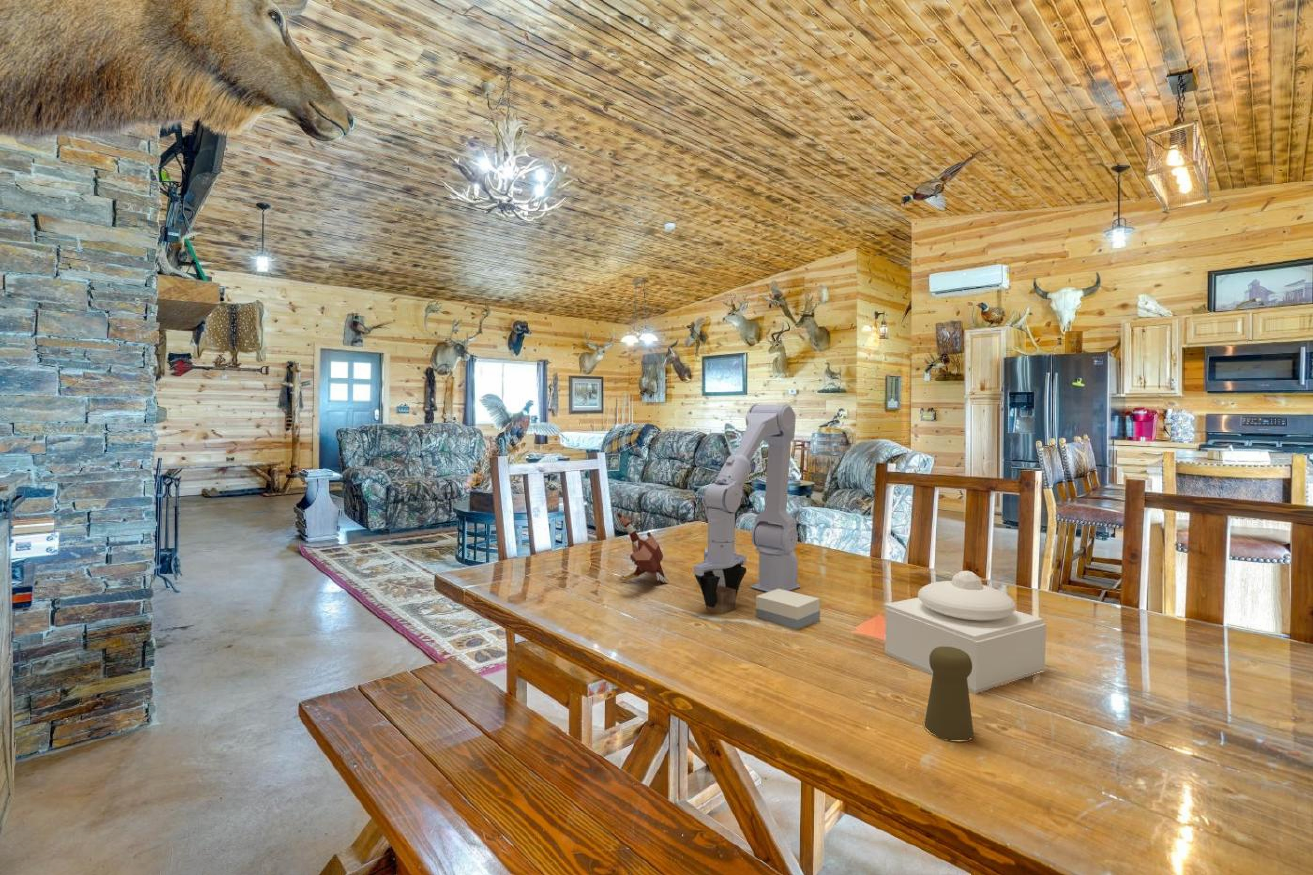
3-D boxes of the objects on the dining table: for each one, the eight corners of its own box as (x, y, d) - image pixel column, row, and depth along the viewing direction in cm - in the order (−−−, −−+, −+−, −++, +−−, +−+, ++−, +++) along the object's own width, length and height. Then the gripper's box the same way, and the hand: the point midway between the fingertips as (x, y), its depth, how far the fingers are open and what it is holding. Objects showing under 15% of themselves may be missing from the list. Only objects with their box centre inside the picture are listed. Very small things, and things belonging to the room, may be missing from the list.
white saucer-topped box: (975, 695, 94) (978, 591, 93) (882, 653, 110) (884, 564, 109) (1045, 672, 102) (1048, 577, 101) (949, 636, 118) (951, 554, 117)
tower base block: (779, 610, 134) (779, 599, 133) (819, 622, 126) (819, 610, 126) (756, 619, 128) (756, 607, 128) (796, 632, 121) (796, 619, 121)
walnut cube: (719, 605, 136) (720, 584, 136) (735, 610, 133) (735, 589, 132) (705, 609, 133) (705, 588, 133) (721, 614, 130) (721, 593, 129)
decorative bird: (607, 552, 169) (628, 503, 168) (668, 581, 167) (690, 531, 166) (580, 581, 141) (605, 522, 140) (653, 616, 139) (679, 556, 138)
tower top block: (778, 600, 133) (778, 588, 133) (819, 610, 126) (819, 598, 126) (755, 608, 128) (755, 596, 127) (797, 619, 120) (797, 607, 120)
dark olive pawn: (915, 719, 86) (917, 642, 85) (957, 718, 86) (959, 640, 86) (939, 743, 80) (941, 659, 79) (983, 741, 80) (986, 658, 80)
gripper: (729, 532, 140) (729, 592, 141) (683, 541, 130) (683, 605, 131) (754, 537, 135) (753, 599, 135) (708, 547, 125) (707, 613, 126)
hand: (720, 602), depth 133 cm, fingers open, 6 cm apart
